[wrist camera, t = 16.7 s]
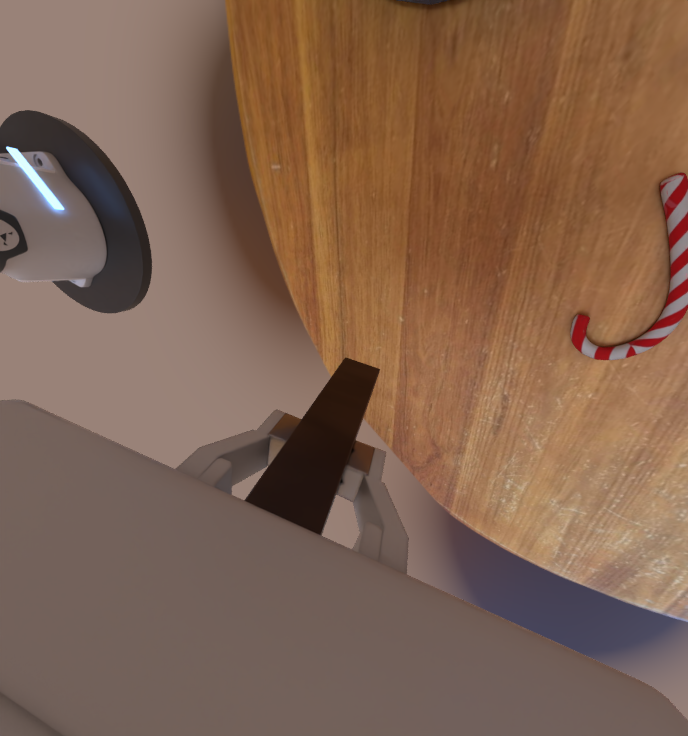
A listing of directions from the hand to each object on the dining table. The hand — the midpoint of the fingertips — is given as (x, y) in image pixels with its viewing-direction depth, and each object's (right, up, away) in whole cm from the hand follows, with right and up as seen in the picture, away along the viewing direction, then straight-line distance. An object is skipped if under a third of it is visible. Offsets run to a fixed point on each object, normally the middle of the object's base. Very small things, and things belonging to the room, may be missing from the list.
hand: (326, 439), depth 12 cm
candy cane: (+26, +11, +11) cm, 31 cm away
